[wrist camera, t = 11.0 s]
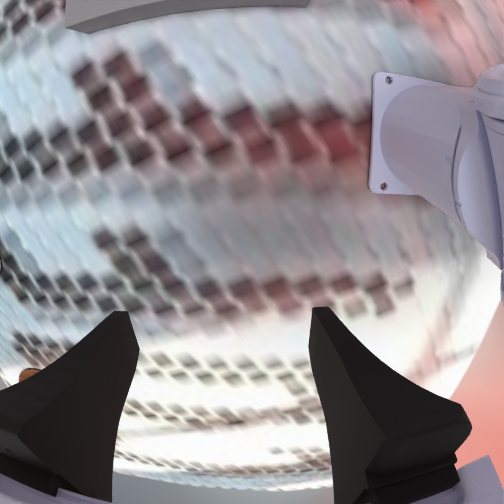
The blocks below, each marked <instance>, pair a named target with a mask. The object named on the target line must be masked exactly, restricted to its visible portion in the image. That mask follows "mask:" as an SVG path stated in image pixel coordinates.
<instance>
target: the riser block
mask: <svg viewBox="0 0 504 504" xmlns="http://www.w3.org/2000/svg"><path fill="white" fill-rule="evenodd" d="M309 1H310V0H66V11H65V28H67V29H71V30H75V31H79V32H83V33H87V34H89V33H93V32H96V31H99V30H103V29H106V28H110V27H114V26H117V25H121V24H125V23H130V22H134V21H138V20H143V19H148V18H153V17H158V16H164V15H169V14H176V13H182V12H190V11H198V10H207V9H218V8H231V7H255V6H283V7H307V5H308V3H309Z"/></svg>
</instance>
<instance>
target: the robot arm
mask: <svg viewBox="0 0 504 504" xmlns="http://www.w3.org/2000/svg"><path fill="white" fill-rule="evenodd" d="M386 77H389V78H390V80H391V82H390V84H387V82H386V80H385V79H386ZM382 183H385V187H384V188H383V189H381V188H380V186H381V184H382ZM368 186H369V189H370V190H371V191H372V192H373V193H377V194H403V195H420V196H422V197H423V198H424V199H426V200H427V201H428V202H430V203H431V204H432V205H434V206H435V207H436V208H438V209H439V210H440V211H442V212H443V213H444V214H446V215H447V216H448V217H449V218H451V219H452V220H453V221H455V222H456V223H457V224H458V225H459V226H461V227H462V228H463V229H464V230H466V231H467V232H468V233H469V234H470V235H472V236H473V237H474V238H475V239H476V240H477V241H478V242H480V243H481V244H482V245H483V246H484V247H485V249H486V252H487V257H488V258H489V259H490V260H491V261H492V262H493V263H494V264H495V265H496V266H497V267H498V268H499V269H500V270H503V271H502V273H501V286H500V290H501V298H502V302H503V306H504V63H502V64H498V65H495V66H492V67H490V68H488V69H486V70H484V71H483V72H482V73H481V75H480V77H479V79H478V81H477V83H475V84H474V86H473V87H458V86H451V85H447V84H443V83H439V82H434V81H430V80H425V79H421V78H416V77H411V76H405V75H399V74H394V73H387V72H376V73H375V74H374V75H373V104H372V136H371V155H370V170H369V183H368ZM308 347H309V354H310V361H311V368H312V372H313V376H314V379H315V383H316V387H317V390H318V394H319V397H320V401H321V405H322V408H323V412H324V416H325V421H326V426H327V433H328V440H329V447H330V456H331V464H332V475H333V488H334V504H504V490H503V487H502V485H501V482H500V480H499V477H498V475H497V473H496V470H495V468H494V466H493V463H492V461H491V459H490V457H489V455H487V456H484V457H482V458H480V459H478V460H476V461H473V462H471V463H469V464H467V465H465V466H463V467H461V468H459V469H458V470H456V468H455V466H454V464H455V463H456V462H457V458H456V455H455V453H454V452H455V451H456V450H457V449H458V448H459V447H460V446H461V445H462V443H463V442H464V441H465V440H466V439H467V437H468V436H469V435H470V432H471V429H472V425H471V422H470V420H469V418H468V416H467V414H466V412H465V411H464V409H463V407H462V406H461V404H459V403H456V402H453V401H451V400H448V399H446V398H443V397H441V396H438V395H436V394H434V393H432V392H430V391H428V390H426V389H424V388H422V387H420V386H418V385H416V384H415V383H413V382H411V381H410V380H408V379H406V378H405V377H403V376H402V375H400V374H399V373H397V372H396V371H394V370H393V369H391V368H390V367H389V366H388V365H386V364H385V363H384V362H382V361H381V360H380V359H379V358H377V357H376V356H375V355H374V354H373V353H372V352H371V351H369V350H368V349H367V348H366V347H365V346H364V345H363V344H362V343H361V342H360V341H359V340H358V339H357V338H356V337H355V336H354V335H353V334H352V333H351V332H350V331H349V329H348V328H347V327H346V326H345V325H344V324H343V323H342V322H341V320H340V319H339V318H338V317H337V316H336V315H335V314H334V312H333V311H332V310H331V309H330V308H329V307H314V308H312V318H311V328H310V337H309V346H308ZM139 350H140V348H139V345H138V342H137V339H136V336H135V333H134V330H133V327H132V324H131V320H130V317H129V314H128V311H114V312H113V313H111V314H110V315H109V316H108V317H106V318H105V319H104V320H103V321H102V322H101V323H100V324H99V325H97V326H96V327H95V328H94V329H93V330H92V331H91V332H90V333H89V334H87V335H86V336H85V337H84V338H83V339H82V340H81V341H80V342H78V343H77V344H76V345H75V346H73V347H72V348H71V349H70V350H69V351H67V352H66V353H65V354H64V355H62V356H61V357H60V358H58V359H57V360H56V361H54V362H53V363H51V364H50V365H48V366H47V367H46V368H44V369H42V370H41V371H39V372H37V373H35V374H34V375H32V376H30V377H29V378H27V379H25V380H23V381H21V382H19V383H17V384H15V385H12V386H10V387H8V388H5V389H3V390H0V504H114V503H112V473H113V460H114V451H115V443H116V437H117V431H118V425H119V421H120V417H121V413H122V410H123V407H124V404H125V401H126V398H127V395H128V392H129V389H130V386H131V383H132V380H133V377H134V374H135V370H136V366H137V361H138V355H139Z"/></svg>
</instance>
